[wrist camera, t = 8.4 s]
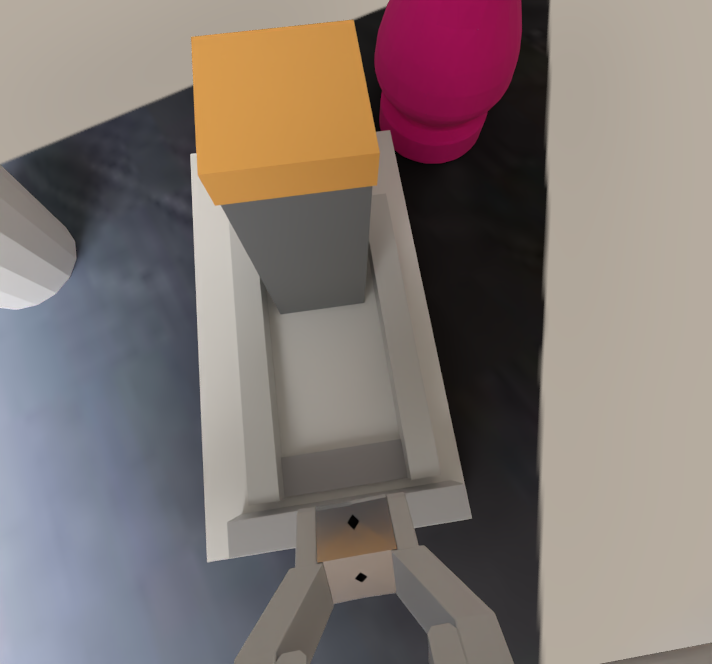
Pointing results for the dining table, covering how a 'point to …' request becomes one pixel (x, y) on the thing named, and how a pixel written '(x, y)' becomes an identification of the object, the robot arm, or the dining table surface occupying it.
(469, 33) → the pepper mill
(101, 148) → the dining table surface
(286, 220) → the plate
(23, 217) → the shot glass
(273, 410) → the white slider switch base
